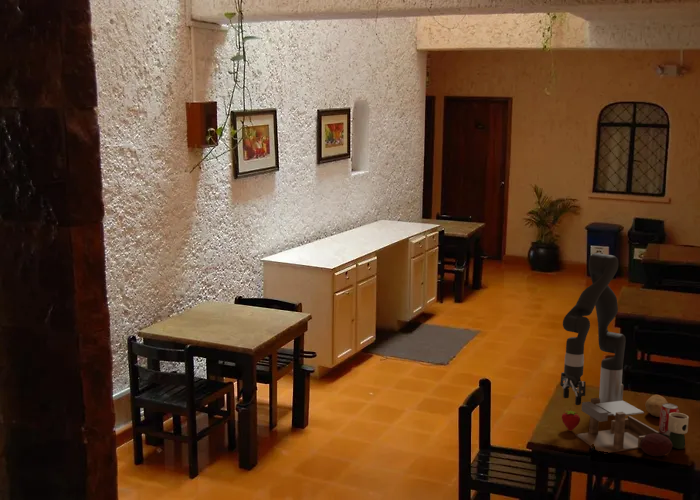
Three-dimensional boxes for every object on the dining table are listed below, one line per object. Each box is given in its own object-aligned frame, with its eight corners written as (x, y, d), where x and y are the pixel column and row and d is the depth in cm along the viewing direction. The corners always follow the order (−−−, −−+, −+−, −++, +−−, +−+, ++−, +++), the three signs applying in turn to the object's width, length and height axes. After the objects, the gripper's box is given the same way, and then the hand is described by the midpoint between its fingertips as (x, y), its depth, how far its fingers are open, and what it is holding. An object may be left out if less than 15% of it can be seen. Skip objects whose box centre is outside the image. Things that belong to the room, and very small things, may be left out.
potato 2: (669, 451, 294) (671, 430, 292) (673, 463, 283) (675, 442, 282) (638, 447, 297) (639, 427, 295) (641, 459, 286) (642, 438, 285)
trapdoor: (622, 405, 309) (623, 397, 309) (643, 416, 297) (644, 408, 297) (580, 410, 304) (581, 402, 303) (600, 422, 291) (601, 413, 291)
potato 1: (643, 419, 326) (644, 401, 324) (645, 408, 338) (646, 391, 337) (668, 423, 322) (669, 405, 320) (669, 411, 334) (670, 394, 333)
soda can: (654, 431, 312) (656, 403, 311) (668, 429, 315) (670, 401, 313) (667, 438, 306) (669, 409, 304) (681, 435, 308) (683, 407, 306)
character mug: (682, 454, 291) (684, 421, 289) (662, 449, 295) (665, 417, 293) (689, 444, 299) (692, 413, 297) (670, 440, 304) (673, 409, 302)
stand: (629, 428, 315) (631, 393, 313) (658, 445, 298) (661, 409, 296) (575, 435, 308) (577, 400, 305) (602, 453, 291) (604, 416, 288)
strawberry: (577, 435, 308) (578, 411, 307) (559, 431, 312) (560, 408, 311) (581, 430, 313) (582, 407, 312) (563, 426, 317) (564, 403, 316)
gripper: (592, 367, 303) (590, 406, 305) (572, 357, 316) (569, 394, 318) (576, 369, 300) (573, 408, 303) (556, 358, 314) (554, 396, 316)
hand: (571, 401), depth 311 cm, fingers open, 8 cm apart
